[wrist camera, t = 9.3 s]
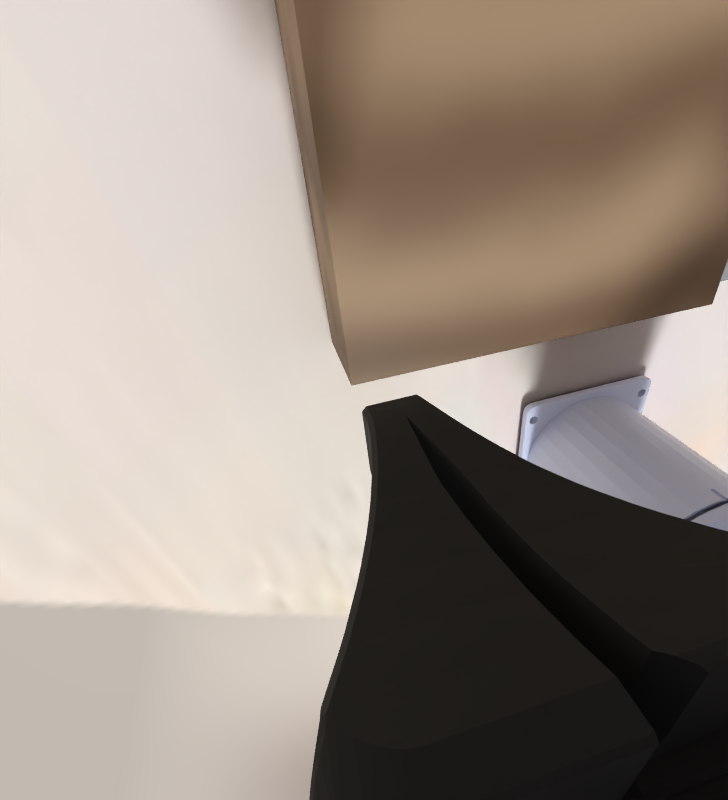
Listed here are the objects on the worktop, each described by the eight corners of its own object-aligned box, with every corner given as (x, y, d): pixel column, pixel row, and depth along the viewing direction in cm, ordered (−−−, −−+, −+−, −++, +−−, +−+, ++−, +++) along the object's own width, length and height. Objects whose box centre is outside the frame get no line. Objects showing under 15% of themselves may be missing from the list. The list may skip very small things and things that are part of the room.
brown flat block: (640, 278, 22) (712, 304, 18) (332, 342, 19) (351, 385, 16) (744, -144, 14) (899, -228, 11) (255, -118, 12) (261, -215, 8)
